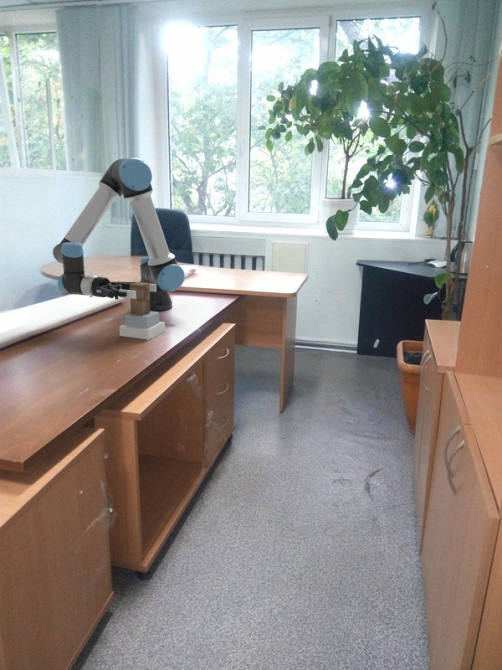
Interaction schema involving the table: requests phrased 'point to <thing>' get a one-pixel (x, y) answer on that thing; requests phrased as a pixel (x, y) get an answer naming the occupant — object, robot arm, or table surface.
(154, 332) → the tower base
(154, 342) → the table surface
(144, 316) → the tower top
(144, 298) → the walnut block
